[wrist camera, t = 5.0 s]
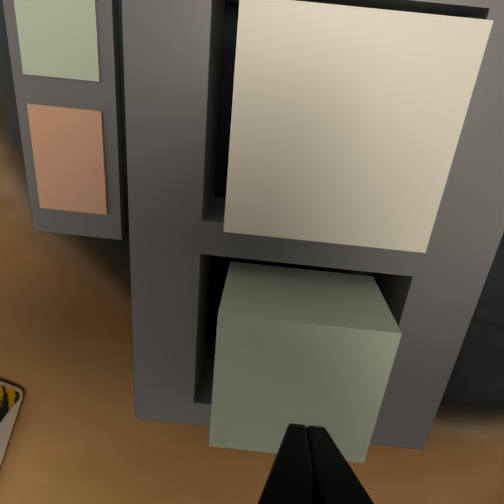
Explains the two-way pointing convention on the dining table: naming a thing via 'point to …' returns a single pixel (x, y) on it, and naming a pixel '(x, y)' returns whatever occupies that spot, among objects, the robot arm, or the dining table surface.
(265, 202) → the key ivory
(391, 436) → the keypad frame
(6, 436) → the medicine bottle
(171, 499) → the dining table surface
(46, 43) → the strip
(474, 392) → the dining table surface
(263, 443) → the key sage
